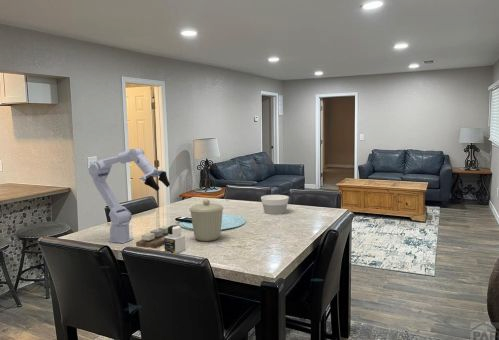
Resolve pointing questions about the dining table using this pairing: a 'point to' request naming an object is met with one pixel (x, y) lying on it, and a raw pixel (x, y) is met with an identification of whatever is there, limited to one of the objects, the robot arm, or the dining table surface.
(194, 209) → the canister
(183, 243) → the medicine bottle
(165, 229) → the sage key
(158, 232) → the grey key
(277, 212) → the bowl
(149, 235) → the cream key
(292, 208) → the dining table surface
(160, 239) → the keypad board
